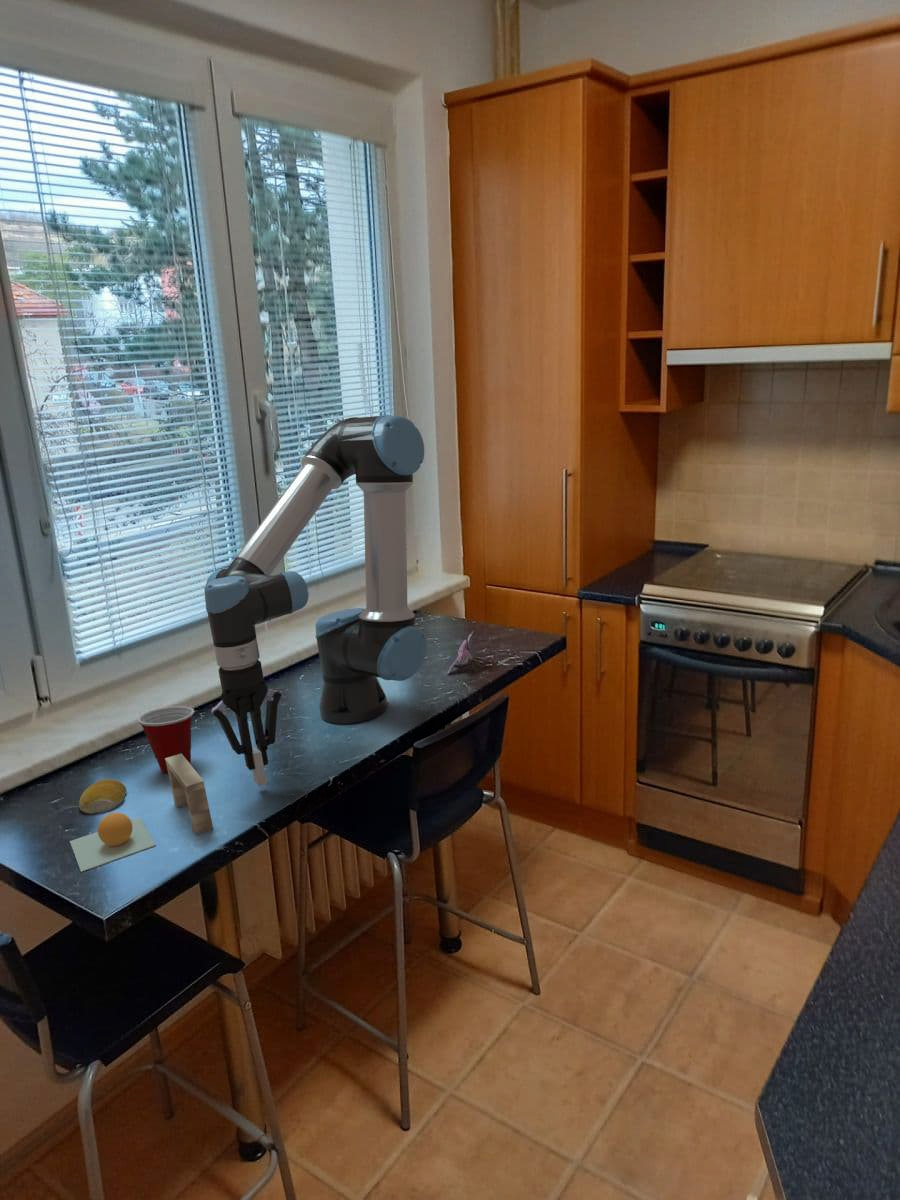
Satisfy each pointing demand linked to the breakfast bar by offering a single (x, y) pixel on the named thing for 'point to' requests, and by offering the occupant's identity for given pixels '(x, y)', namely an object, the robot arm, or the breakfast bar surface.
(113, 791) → the yellow bowl
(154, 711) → the plastic cup
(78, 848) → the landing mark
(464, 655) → the lily
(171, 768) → the bridge
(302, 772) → the breakfast bar surface
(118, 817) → the ball
